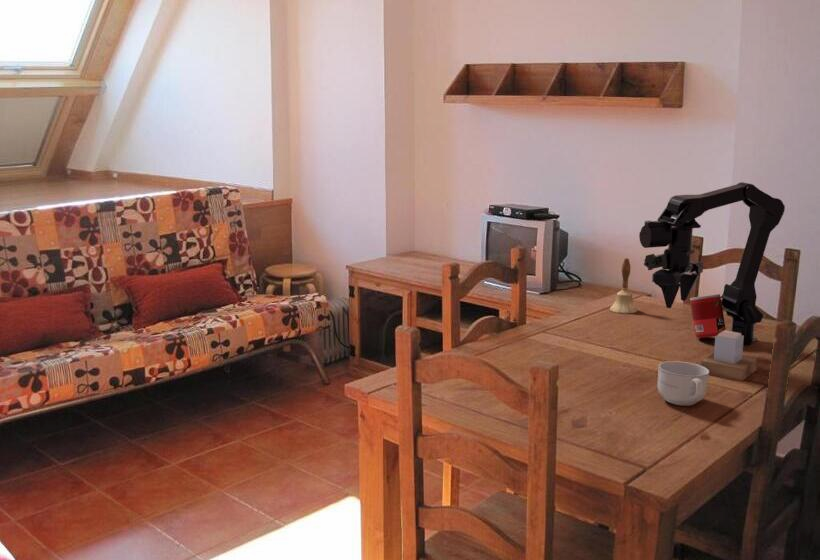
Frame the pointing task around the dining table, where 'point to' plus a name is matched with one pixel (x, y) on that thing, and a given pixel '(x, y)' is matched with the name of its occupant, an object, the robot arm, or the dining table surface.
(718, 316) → the canned food
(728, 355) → the white cube
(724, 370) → the wooden block
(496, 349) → the dining table surface
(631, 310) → the hand bell
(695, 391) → the teacup
